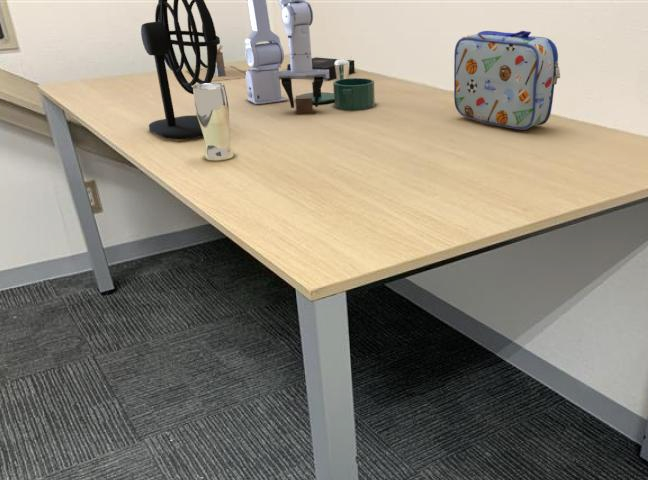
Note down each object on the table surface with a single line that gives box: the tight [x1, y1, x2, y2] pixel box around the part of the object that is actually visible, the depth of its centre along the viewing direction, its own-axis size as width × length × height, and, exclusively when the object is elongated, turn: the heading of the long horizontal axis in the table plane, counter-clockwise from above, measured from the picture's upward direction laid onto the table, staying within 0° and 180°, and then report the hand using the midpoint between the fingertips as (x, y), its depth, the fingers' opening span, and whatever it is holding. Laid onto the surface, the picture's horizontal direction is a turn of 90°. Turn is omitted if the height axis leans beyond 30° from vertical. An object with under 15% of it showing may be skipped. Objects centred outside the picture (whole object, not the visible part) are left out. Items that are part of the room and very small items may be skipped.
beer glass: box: [192, 82, 234, 162], centre depth 144 cm, size 7×7×15 cm
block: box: [294, 94, 314, 115], centre depth 183 cm, size 4×4×4 cm
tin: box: [332, 77, 376, 111], centre depth 188 cm, size 11×17×6 cm
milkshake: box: [334, 55, 352, 81], centre depth 205 cm, size 4×5×10 cm
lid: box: [298, 81, 334, 105], centre depth 195 cm, size 12×12×5 cm
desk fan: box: [140, 0, 221, 141], centre depth 159 cm, size 27×18×35 cm, turn 36°
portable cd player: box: [286, 57, 356, 82], centre depth 231 cm, size 16×17×4 cm
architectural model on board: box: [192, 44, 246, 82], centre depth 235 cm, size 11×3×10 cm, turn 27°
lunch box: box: [453, 30, 561, 130], centre depth 162 cm, size 28×10×22 cm, turn 45°
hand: (304, 106), depth 183 cm, fingers open, 6 cm apart
